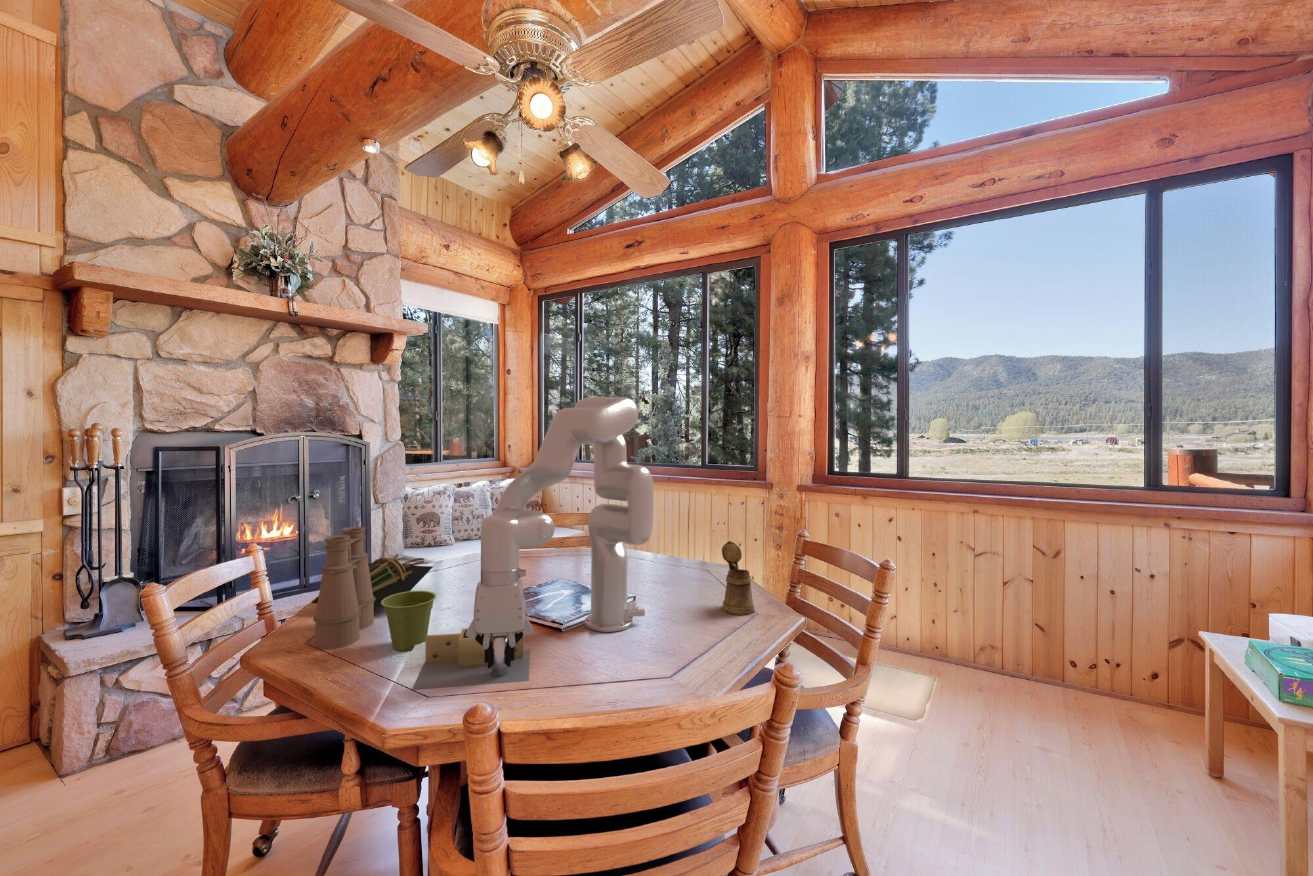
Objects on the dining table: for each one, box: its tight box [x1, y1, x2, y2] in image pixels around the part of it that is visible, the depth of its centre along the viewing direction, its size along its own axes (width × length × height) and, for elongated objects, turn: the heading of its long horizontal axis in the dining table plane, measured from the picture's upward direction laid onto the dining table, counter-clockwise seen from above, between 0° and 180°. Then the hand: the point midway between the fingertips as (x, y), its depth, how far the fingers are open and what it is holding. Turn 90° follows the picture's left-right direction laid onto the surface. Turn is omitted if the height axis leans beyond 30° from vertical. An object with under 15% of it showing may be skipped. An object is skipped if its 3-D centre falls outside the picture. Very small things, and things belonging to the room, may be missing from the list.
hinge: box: [425, 627, 524, 668], centre depth 120 cm, size 20×6×6 cm, turn 102°
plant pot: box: [381, 590, 437, 652], centre depth 130 cm, size 12×12×11 cm
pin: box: [491, 633, 508, 677], centre depth 114 cm, size 3×3×8 cm
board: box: [411, 649, 531, 691], centre depth 116 cm, size 22×15×1 cm
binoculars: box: [312, 526, 376, 650], centre depth 137 cm, size 21×10×25 cm, turn 10°
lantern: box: [310, 553, 434, 608], centre depth 164 cm, size 14×23×30 cm
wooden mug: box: [721, 540, 755, 616], centre depth 160 cm, size 9×14×18 cm, turn 11°
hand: (499, 664), depth 114 cm, fingers closed on pin, 3 cm apart
